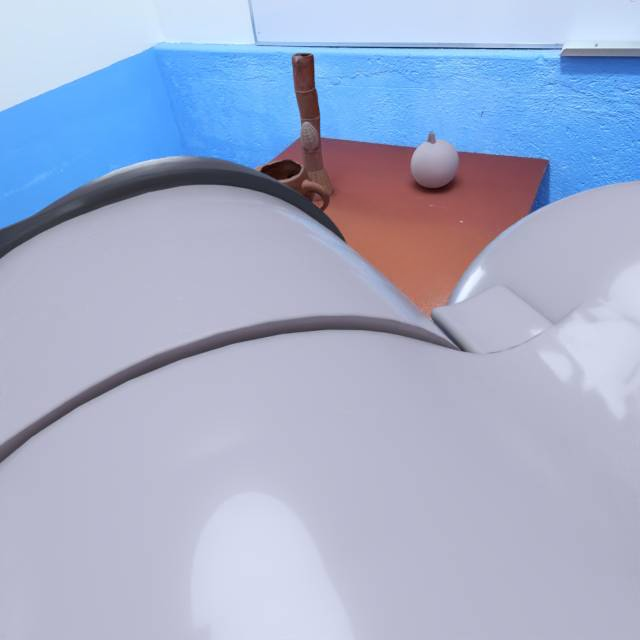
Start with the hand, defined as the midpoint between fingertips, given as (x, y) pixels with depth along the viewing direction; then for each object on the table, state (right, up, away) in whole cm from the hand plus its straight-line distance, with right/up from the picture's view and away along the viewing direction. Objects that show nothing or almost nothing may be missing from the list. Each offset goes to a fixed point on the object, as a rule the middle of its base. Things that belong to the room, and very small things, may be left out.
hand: (412, 461), depth 50 cm
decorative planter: (-16, +35, +52) cm, 65 cm away
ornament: (+16, +46, +58) cm, 76 cm away
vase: (-10, +46, +64) cm, 79 cm away
